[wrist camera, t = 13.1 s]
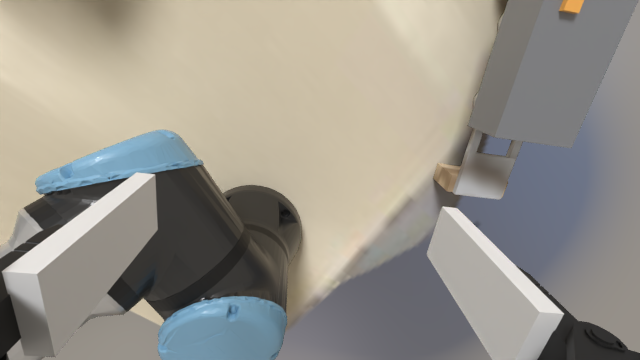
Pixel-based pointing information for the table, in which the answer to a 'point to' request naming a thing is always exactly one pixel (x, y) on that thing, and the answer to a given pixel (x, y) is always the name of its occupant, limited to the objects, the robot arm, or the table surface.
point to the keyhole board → (478, 171)
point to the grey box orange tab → (547, 68)
